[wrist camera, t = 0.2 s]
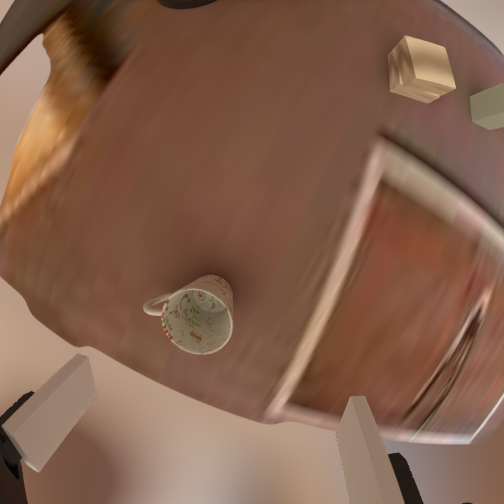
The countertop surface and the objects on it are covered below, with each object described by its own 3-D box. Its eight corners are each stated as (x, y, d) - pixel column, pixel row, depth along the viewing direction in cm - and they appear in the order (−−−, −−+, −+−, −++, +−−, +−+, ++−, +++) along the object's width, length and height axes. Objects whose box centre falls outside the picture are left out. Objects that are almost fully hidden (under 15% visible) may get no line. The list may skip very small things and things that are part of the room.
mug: (242, 320, 41) (235, 355, 31) (162, 319, 42) (137, 351, 32) (238, 265, 39) (229, 287, 30) (154, 268, 40) (123, 288, 30)
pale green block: (469, 96, 32) (510, 79, 20) (487, 106, 31) (528, 92, 20) (471, 121, 33) (516, 108, 21) (489, 130, 32) (533, 120, 21)
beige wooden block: (387, 55, 32) (396, 45, 28) (424, 68, 32) (435, 59, 28) (389, 91, 33) (399, 83, 29) (427, 104, 33) (439, 97, 29)
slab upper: (394, 47, 28) (404, 35, 24) (432, 56, 28) (444, 47, 24) (403, 87, 30) (416, 77, 26) (441, 95, 29) (456, 88, 25)
